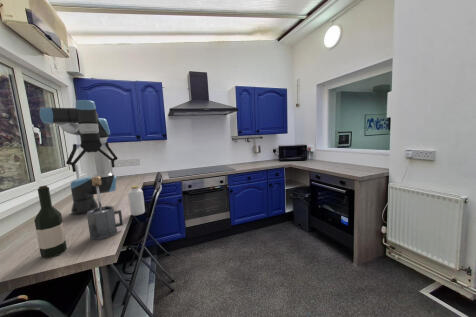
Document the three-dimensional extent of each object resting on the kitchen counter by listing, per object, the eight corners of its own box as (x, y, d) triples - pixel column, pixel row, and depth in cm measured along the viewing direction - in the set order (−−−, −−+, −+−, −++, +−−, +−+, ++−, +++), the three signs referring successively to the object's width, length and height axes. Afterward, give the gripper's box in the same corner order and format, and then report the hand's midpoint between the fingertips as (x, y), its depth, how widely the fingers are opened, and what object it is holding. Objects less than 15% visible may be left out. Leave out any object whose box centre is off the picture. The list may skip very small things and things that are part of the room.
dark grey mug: (91, 233, 102) (87, 209, 100) (122, 225, 109) (119, 203, 108) (89, 242, 92) (85, 216, 91) (124, 233, 100) (120, 208, 98)
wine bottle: (52, 248, 89) (41, 184, 86) (71, 246, 90) (61, 183, 86) (35, 259, 81) (22, 189, 77) (56, 257, 81) (44, 187, 78)
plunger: (93, 213, 100) (87, 177, 98) (109, 209, 104) (104, 175, 101) (92, 217, 94) (86, 179, 92) (109, 213, 98) (104, 177, 96)
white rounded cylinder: (139, 216, 122) (135, 188, 120) (127, 216, 123) (124, 188, 121) (147, 211, 130) (144, 185, 128) (137, 211, 131) (133, 185, 129)
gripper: (53, 133, 84) (60, 181, 86) (119, 131, 98) (125, 173, 100) (57, 134, 91) (64, 179, 93) (119, 132, 104) (124, 171, 106)
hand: (95, 176), depth 96 cm, fingers open, 13 cm apart
